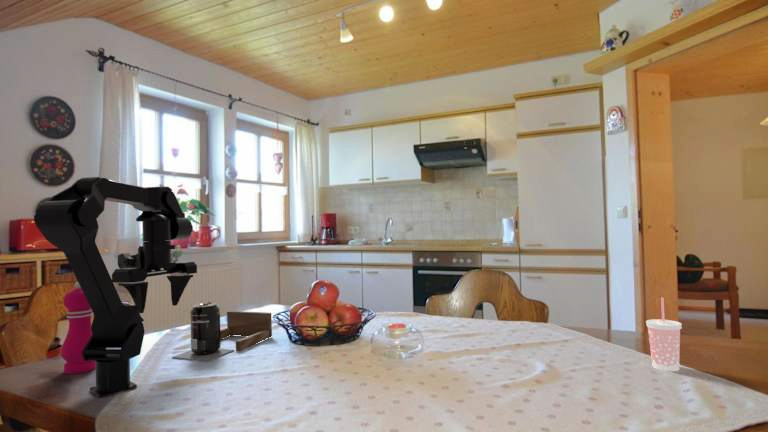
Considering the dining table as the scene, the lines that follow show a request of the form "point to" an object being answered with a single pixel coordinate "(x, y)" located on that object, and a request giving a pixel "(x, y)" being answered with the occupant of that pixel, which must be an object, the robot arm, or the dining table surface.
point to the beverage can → (205, 328)
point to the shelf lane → (247, 327)
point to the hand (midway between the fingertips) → (158, 309)
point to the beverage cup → (664, 342)
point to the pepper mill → (77, 332)
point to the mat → (192, 356)
